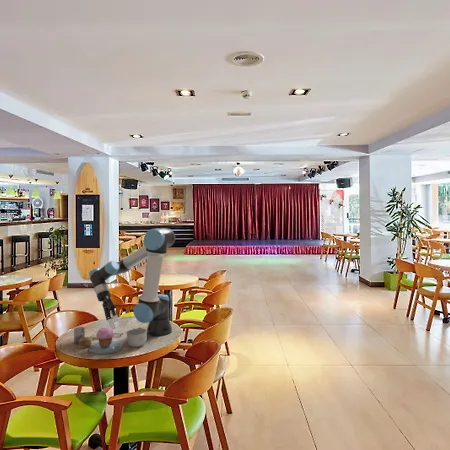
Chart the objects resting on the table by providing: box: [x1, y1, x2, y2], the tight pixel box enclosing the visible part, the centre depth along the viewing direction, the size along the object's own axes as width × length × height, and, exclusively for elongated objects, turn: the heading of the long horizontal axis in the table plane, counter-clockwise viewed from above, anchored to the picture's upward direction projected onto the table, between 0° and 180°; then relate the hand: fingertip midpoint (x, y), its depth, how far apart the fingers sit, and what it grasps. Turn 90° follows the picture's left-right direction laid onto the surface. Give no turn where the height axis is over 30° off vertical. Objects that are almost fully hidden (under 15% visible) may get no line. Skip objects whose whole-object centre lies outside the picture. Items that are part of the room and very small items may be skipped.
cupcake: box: [96, 327, 114, 348], centre depth 196 cm, size 9×9×10 cm
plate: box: [88, 340, 123, 356], centre depth 196 cm, size 17×17×1 cm
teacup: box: [125, 327, 148, 348], centre depth 202 cm, size 14×11×8 cm
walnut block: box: [78, 336, 93, 349], centre depth 200 cm, size 6×6×4 cm
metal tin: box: [73, 326, 86, 345], centre depth 206 cm, size 6×6×8 cm
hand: (115, 325), depth 210 cm, fingers open, 13 cm apart
